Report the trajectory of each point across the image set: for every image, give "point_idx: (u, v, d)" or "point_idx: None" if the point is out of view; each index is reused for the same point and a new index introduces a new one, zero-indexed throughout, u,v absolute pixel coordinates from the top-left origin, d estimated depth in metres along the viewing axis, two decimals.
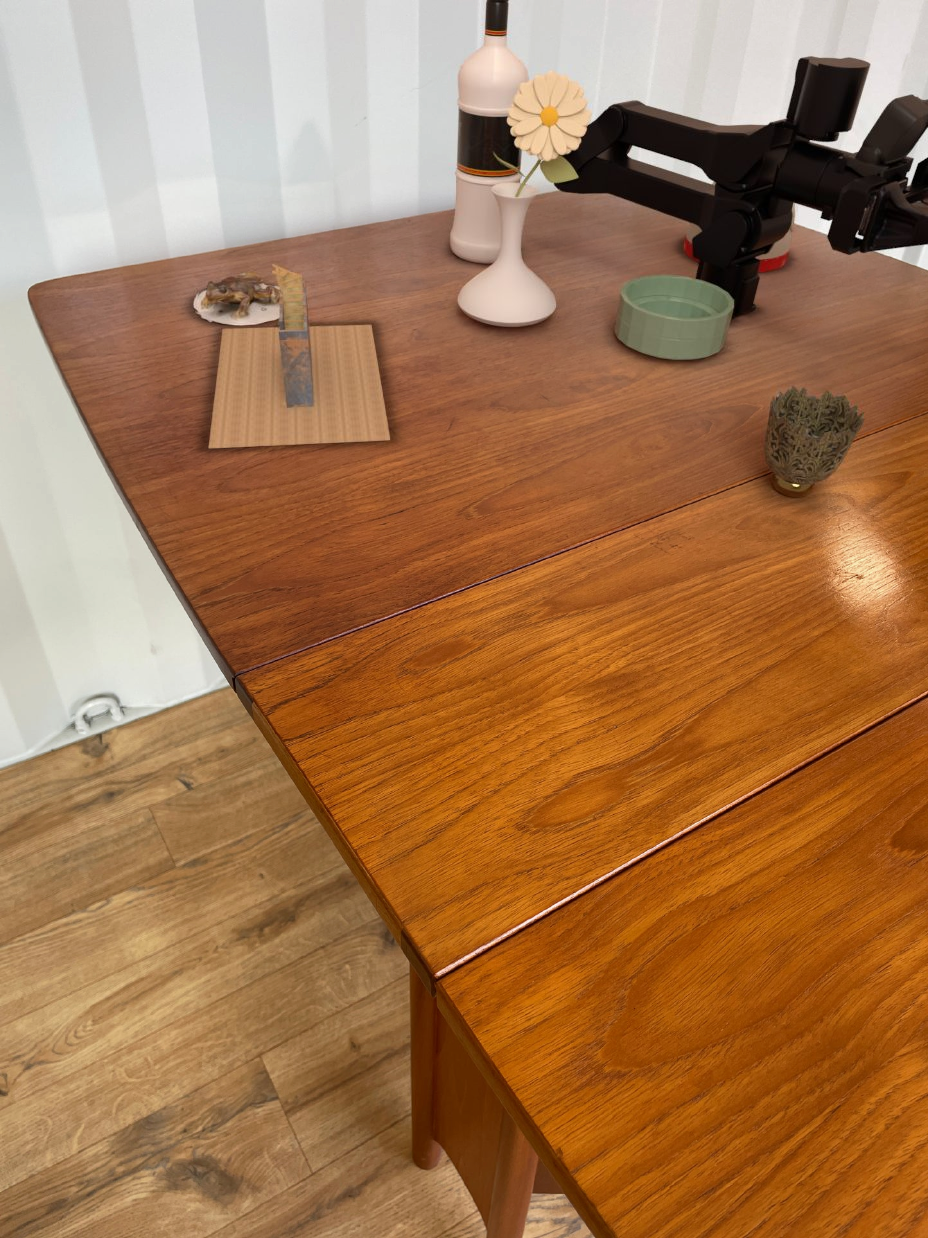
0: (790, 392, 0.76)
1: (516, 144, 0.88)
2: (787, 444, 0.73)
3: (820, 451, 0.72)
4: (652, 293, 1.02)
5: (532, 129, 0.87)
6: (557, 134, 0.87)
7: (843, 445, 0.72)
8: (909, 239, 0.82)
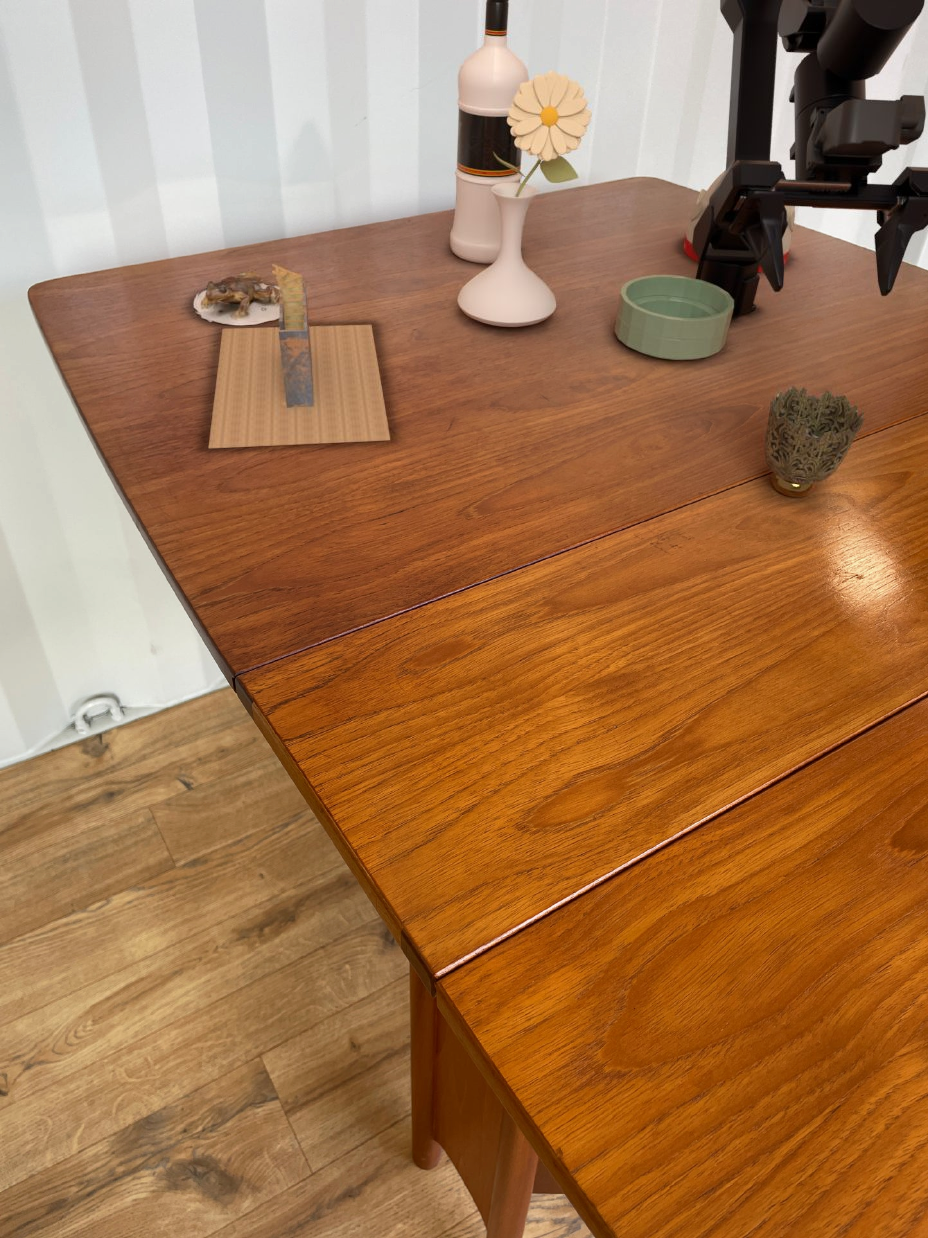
0: (790, 392, 0.76)
1: (516, 144, 0.88)
2: (787, 444, 0.73)
3: (821, 451, 0.72)
4: (652, 293, 1.02)
5: (532, 129, 0.87)
6: (557, 134, 0.87)
7: (843, 445, 0.72)
8: (759, 255, 0.77)
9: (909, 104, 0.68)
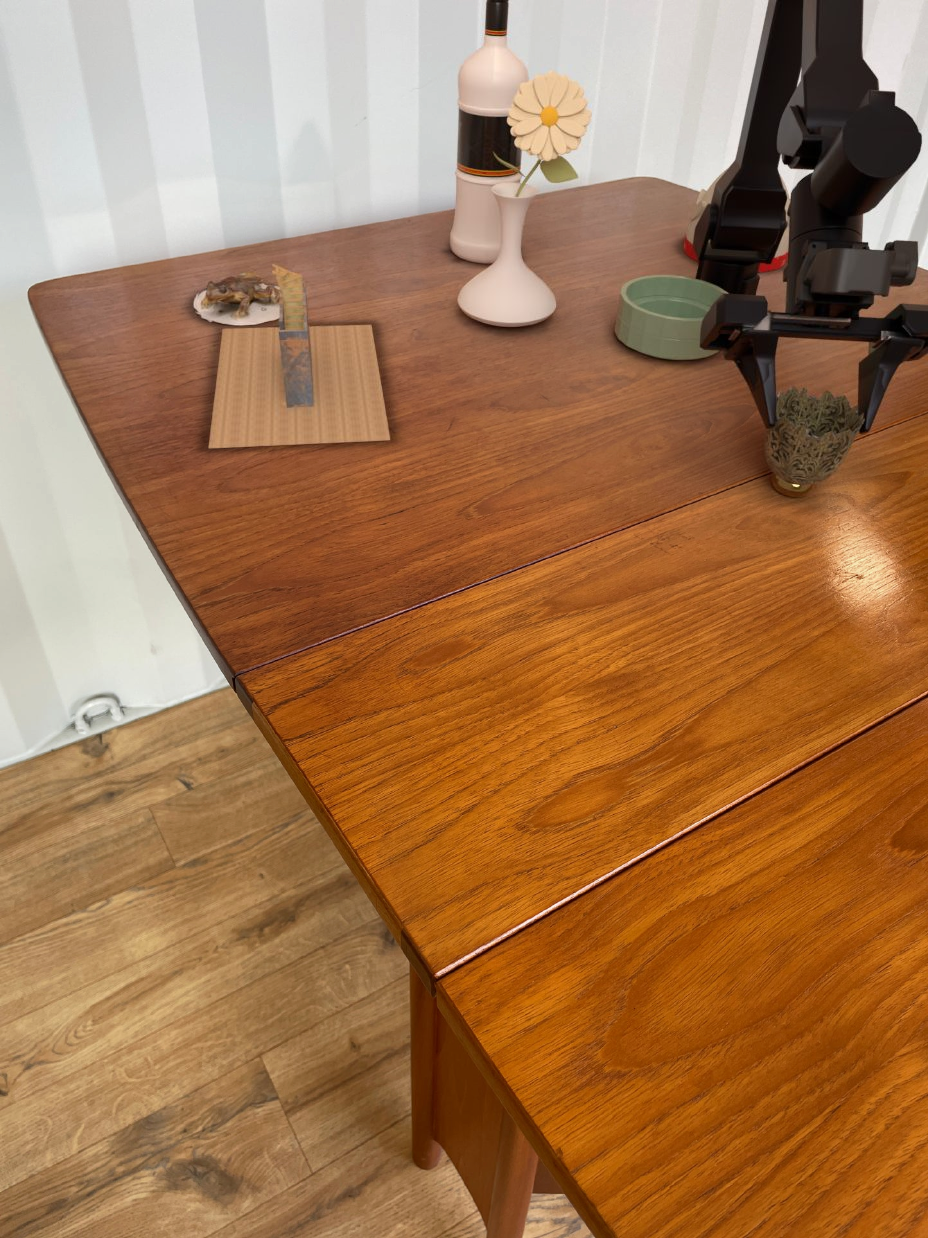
0: (790, 393, 0.76)
1: (516, 144, 0.88)
2: (788, 444, 0.73)
3: (821, 451, 0.72)
4: (652, 293, 1.02)
5: (532, 129, 0.87)
6: (557, 134, 0.87)
7: (843, 445, 0.72)
8: (752, 388, 0.75)
9: (900, 253, 0.66)
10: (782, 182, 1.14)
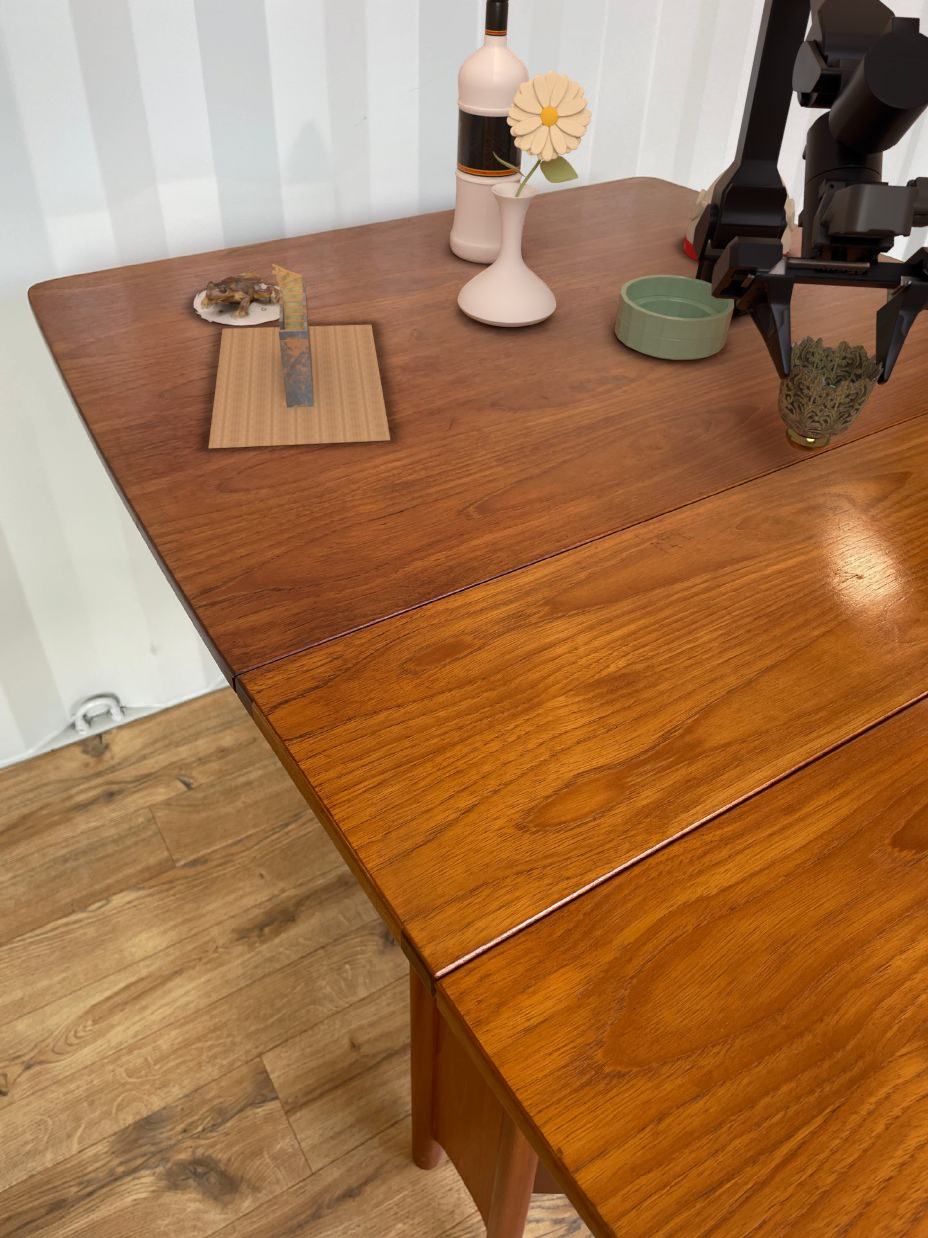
0: (805, 343, 0.73)
1: (516, 144, 0.88)
2: (803, 395, 0.70)
3: (837, 402, 0.69)
4: (652, 293, 1.02)
5: (532, 129, 0.87)
6: (557, 134, 0.87)
7: (861, 396, 0.69)
8: (766, 337, 0.72)
9: (923, 190, 0.63)
10: (782, 182, 1.14)
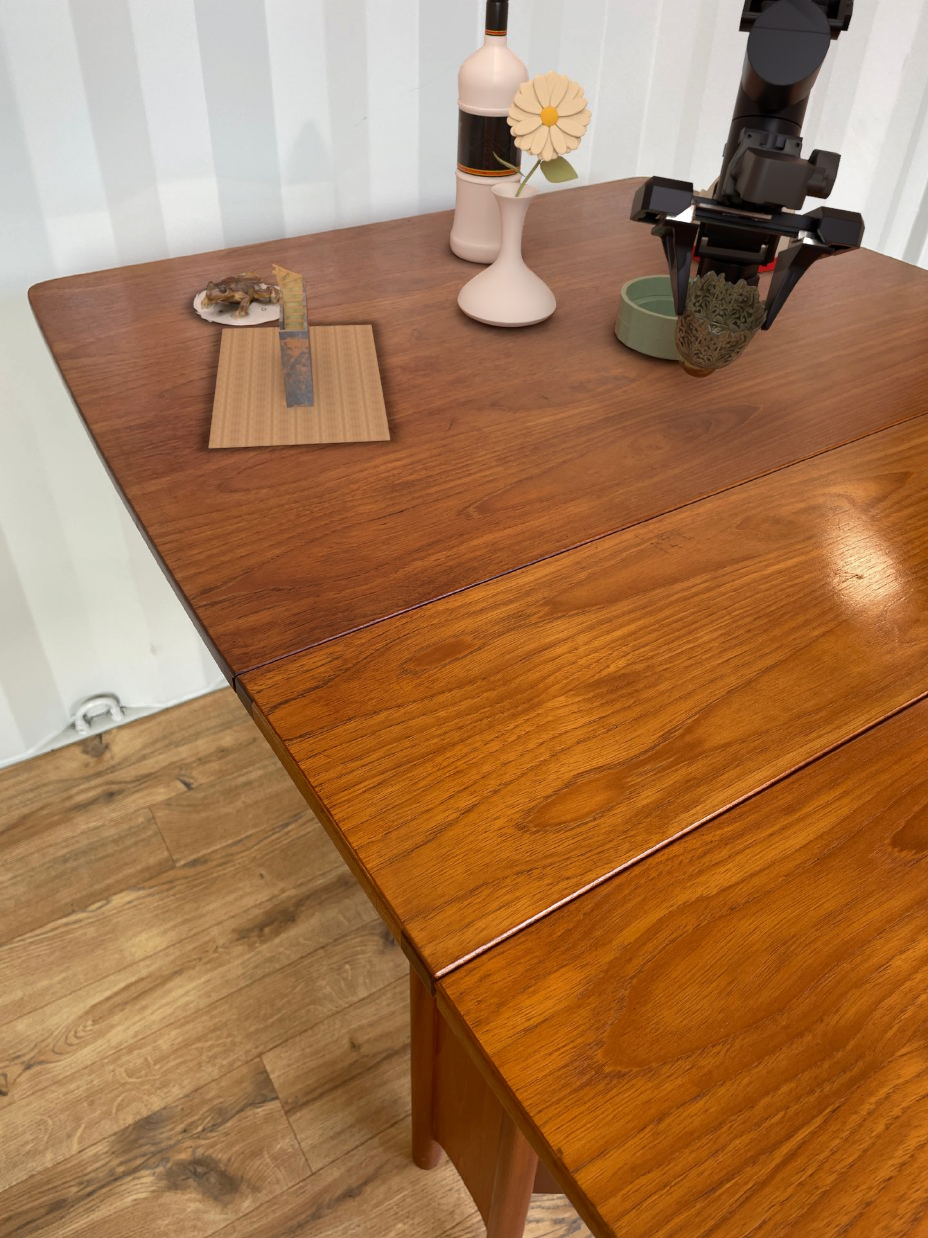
0: (708, 277, 0.79)
1: (516, 144, 0.88)
2: (692, 334, 0.78)
3: (719, 346, 0.78)
4: (652, 293, 1.02)
5: (532, 129, 0.87)
6: (557, 134, 0.87)
7: (741, 342, 0.78)
8: (670, 271, 0.78)
9: (819, 169, 0.67)
10: None
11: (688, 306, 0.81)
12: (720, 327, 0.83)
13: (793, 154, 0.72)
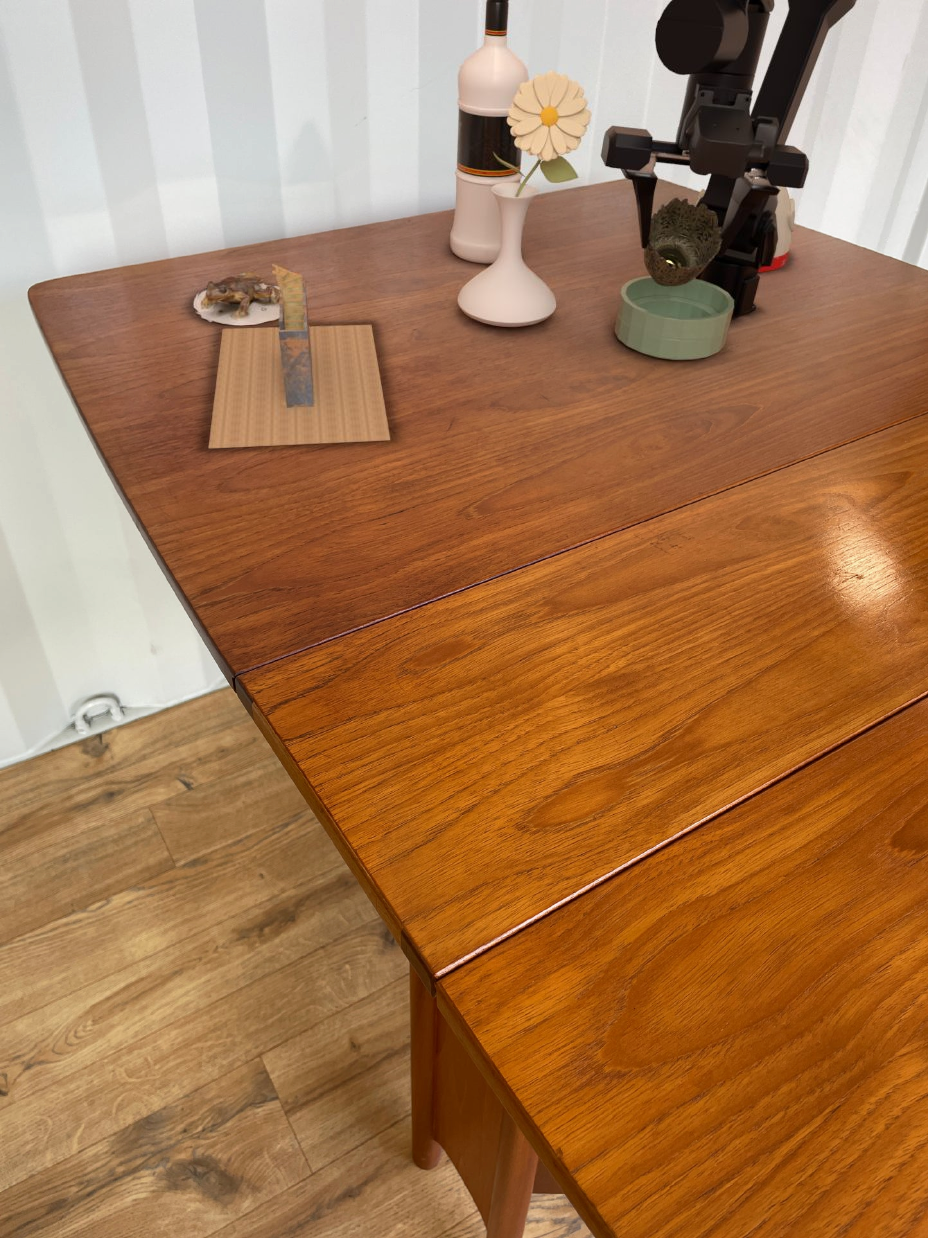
0: (672, 203, 0.89)
1: (516, 144, 0.88)
2: (654, 264, 0.90)
3: (678, 275, 0.90)
4: (652, 293, 1.02)
5: (532, 129, 0.87)
6: (557, 134, 0.87)
7: (697, 271, 0.90)
8: (637, 205, 0.88)
9: (757, 144, 0.76)
10: None
11: (656, 226, 0.92)
12: (686, 238, 0.94)
13: (743, 109, 0.79)
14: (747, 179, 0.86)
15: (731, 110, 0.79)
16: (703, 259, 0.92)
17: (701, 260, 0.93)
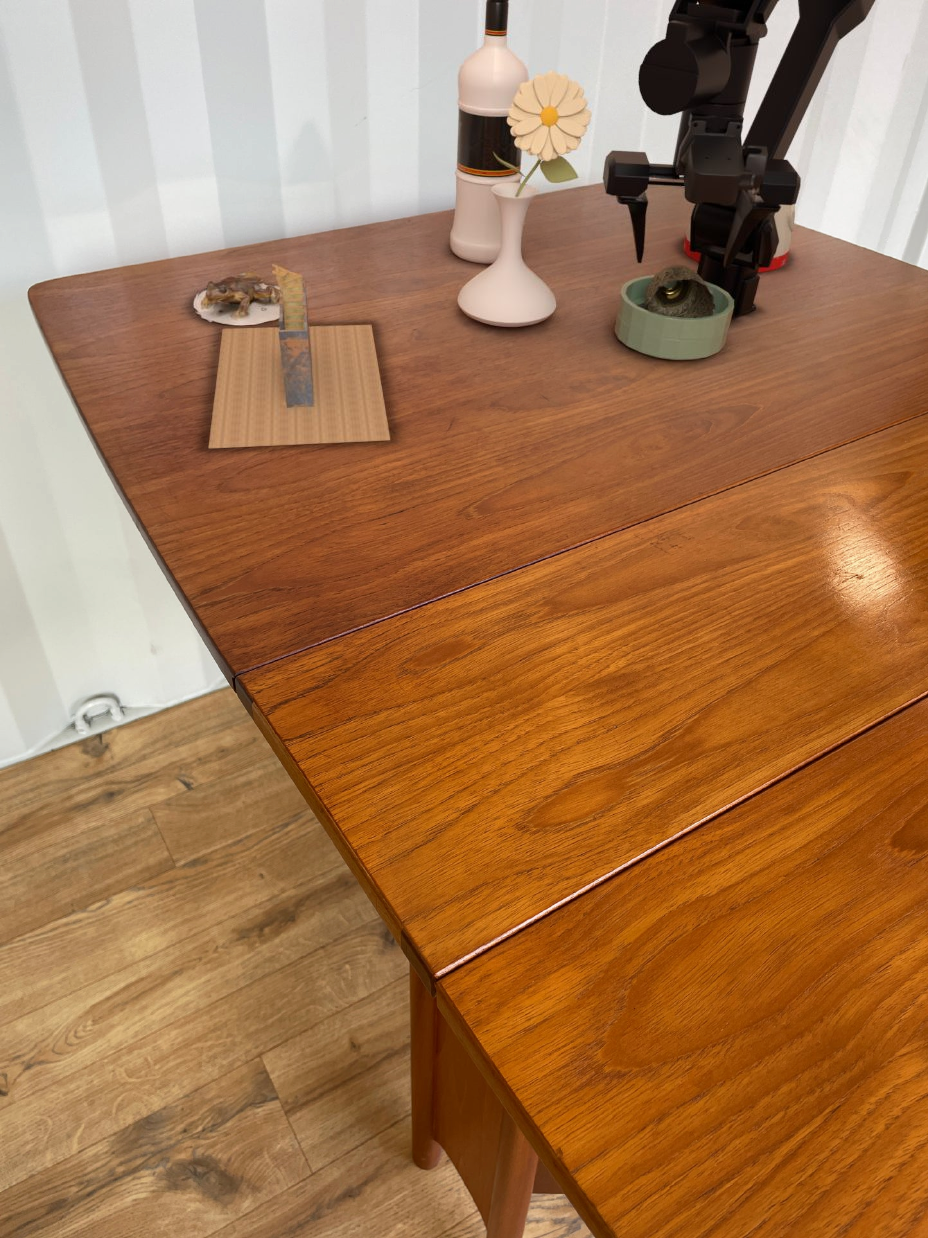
0: (675, 280, 0.93)
1: (516, 144, 0.88)
2: None
3: None
4: None
5: (532, 129, 0.87)
6: (557, 134, 0.87)
7: None
8: None
9: (746, 175, 0.81)
10: None
11: None
12: None
13: (734, 136, 0.83)
14: (750, 195, 0.90)
15: (723, 138, 0.83)
16: (700, 301, 0.99)
17: (699, 299, 0.99)
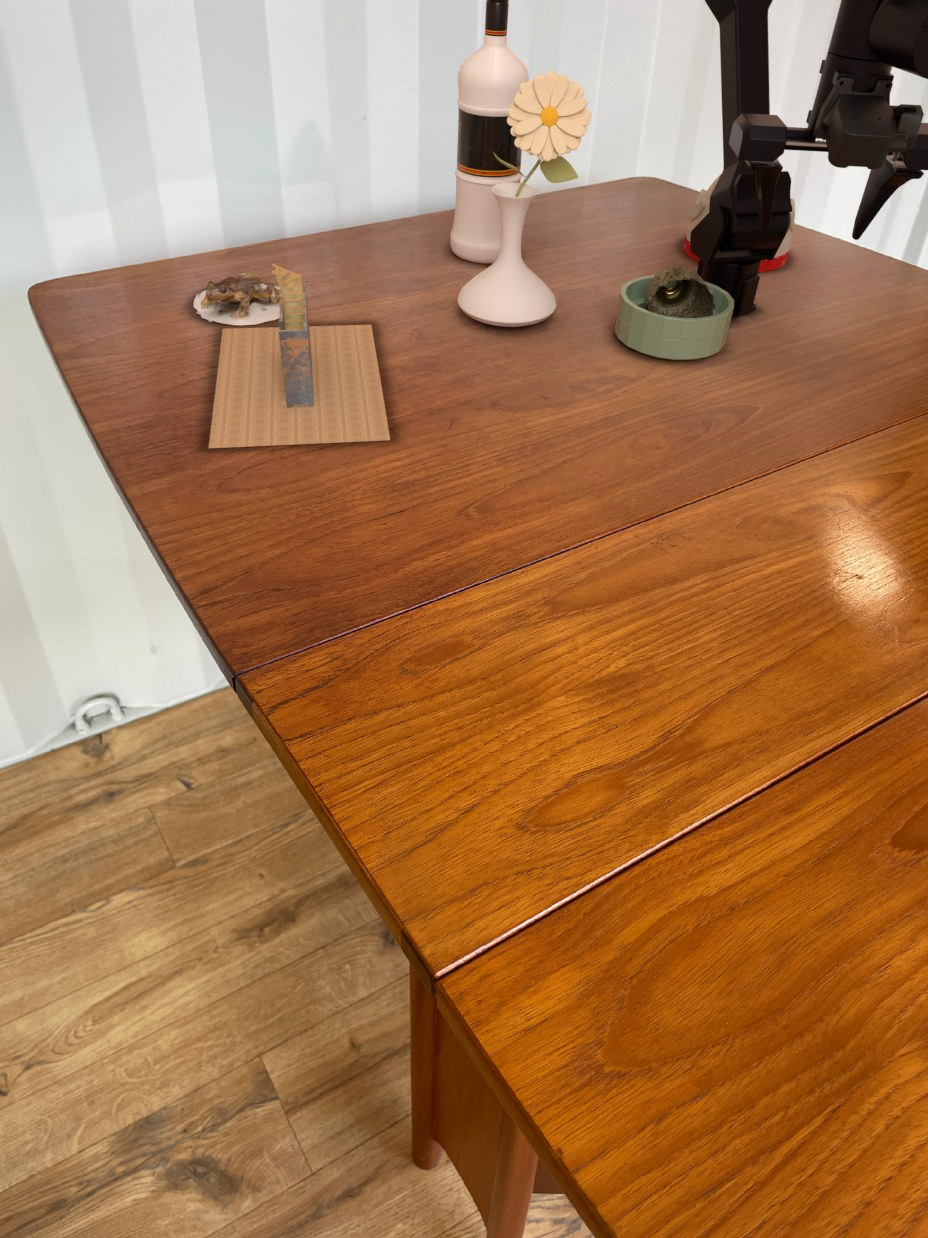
0: (675, 280, 0.93)
1: (516, 144, 0.88)
2: None
3: None
4: None
5: (532, 129, 0.87)
6: (557, 134, 0.87)
7: None
8: (757, 191, 0.88)
9: (900, 135, 0.76)
10: None
11: None
12: None
13: (883, 95, 0.78)
14: (887, 161, 0.85)
15: (871, 97, 0.78)
16: (700, 301, 0.99)
17: (699, 299, 0.99)
